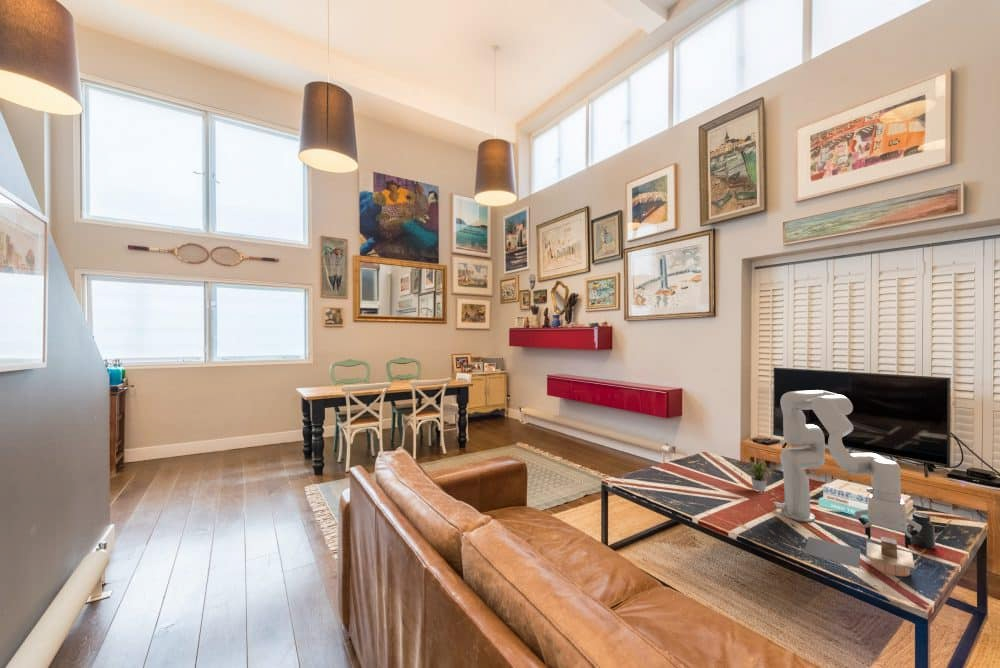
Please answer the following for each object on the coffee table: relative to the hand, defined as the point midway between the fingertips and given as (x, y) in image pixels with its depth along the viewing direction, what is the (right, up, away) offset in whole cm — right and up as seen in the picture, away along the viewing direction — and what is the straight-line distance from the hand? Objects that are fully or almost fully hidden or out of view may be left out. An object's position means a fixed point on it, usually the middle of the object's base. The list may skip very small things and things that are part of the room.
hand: (887, 541), depth 143 cm
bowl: (0, -10, -1) cm, 10 cm away
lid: (0, -5, -1) cm, 5 cm away
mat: (-11, -11, +11) cm, 19 cm away
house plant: (+2, -11, +74) cm, 75 cm away
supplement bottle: (+28, -9, +15) cm, 33 cm away
